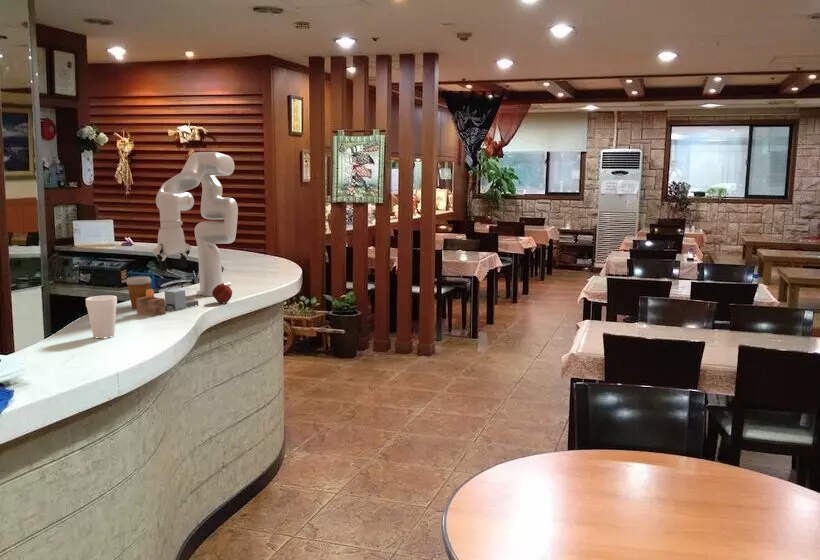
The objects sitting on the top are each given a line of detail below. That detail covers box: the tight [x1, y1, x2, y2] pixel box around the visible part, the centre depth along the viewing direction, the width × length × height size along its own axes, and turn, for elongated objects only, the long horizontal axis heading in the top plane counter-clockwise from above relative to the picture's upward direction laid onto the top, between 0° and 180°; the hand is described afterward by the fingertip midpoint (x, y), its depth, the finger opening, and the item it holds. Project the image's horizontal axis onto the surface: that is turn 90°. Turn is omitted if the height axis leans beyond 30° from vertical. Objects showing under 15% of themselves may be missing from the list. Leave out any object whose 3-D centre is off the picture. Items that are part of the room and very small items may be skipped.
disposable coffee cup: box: [125, 275, 152, 310], centre depth 293 cm, size 10×10×12 cm
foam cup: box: [85, 294, 118, 338], centre depth 242 cm, size 10×9×13 cm
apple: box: [212, 284, 233, 304], centre depth 301 cm, size 7×8×8 cm
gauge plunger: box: [146, 288, 155, 300], centre depth 279 cm, size 3×3×4 cm
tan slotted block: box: [136, 296, 166, 317], centre depth 280 cm, size 5×10×6 cm, turn 57°
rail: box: [165, 299, 199, 312], centre depth 291 cm, size 15×4×2 cm, turn 147°
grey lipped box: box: [164, 288, 187, 310], centre depth 289 cm, size 5×6×7 cm
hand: (173, 269), depth 288 cm, fingers open, 9 cm apart
